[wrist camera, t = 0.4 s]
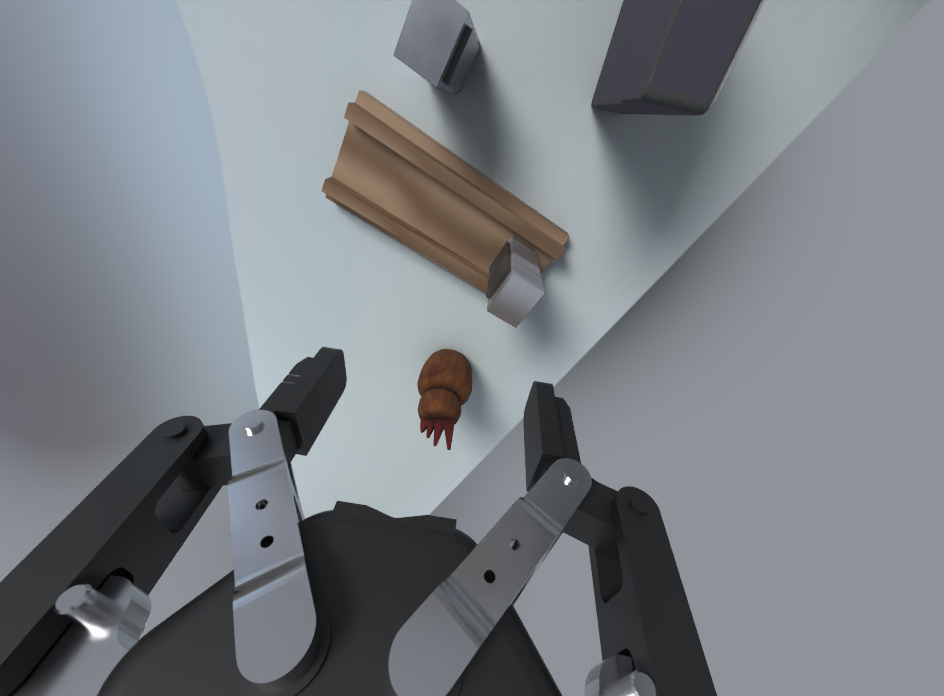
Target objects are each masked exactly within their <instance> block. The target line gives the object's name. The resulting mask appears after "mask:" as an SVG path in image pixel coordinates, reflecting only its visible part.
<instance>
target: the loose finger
mask: <svg viewBox="0 0 944 696" xmlns="http://www.w3.org/2000/svg"><path fill="white" fill-rule="evenodd" d="M478 43H479V39H478V36H477V33H476V31H475V28H474V25H473V22H472V19H471V17H470V14H469V11H467V10H466V9H465V8H464V7H463V6H461V5H460V4H459V3H458V2H457V1H455V0H412V3H411V6H410V9H409V11H408V14H407V17H406V20H405V23H404V26H403V29H402V32H401V35H400V37H399V40H398V43H397V46H396V49H395V52H394V56H395V57H396V58H398V59H399V60H400V61H402V62H403V63H404V64H406V65H407V66H408V67H410V68H411V69H412V70H414V71H415V72H416V73H418V74H419V75H420V76H422V77H423V78H424V79H426V80H427V81H428V82H430V83H431V84H432V85H434V86H435V87H437V88H439V89H442V90H445V91H448V92H451V93H454V94H455V93H456V91H457V90H458V91H460V89H461V87H462V85H463V83H464V81H465V78H466V76H467V74H468V72H469V70H470V68H471V65H472V63H473V61H474V59H475V57H476V55H477V52H478V50H479V48H480V47H479V44H478Z"/></svg>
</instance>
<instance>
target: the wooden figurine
mask: <svg viewBox="0 0 944 696" xmlns="http://www.w3.org/2000/svg"><path fill="white" fill-rule="evenodd" d="M418 390H419V394H420V395H421V396H422V397H421V399H420V402H419V406H418V414H419V417H420V419H421V424H420V429H421V433H423V432H424V431H425V430H426V429H427V434H426V436H427V438H429V437H430V435H431V434H432V432H433V430H434V446H436V445H437V443H438V441H439V439H440V436H441V434H442V432H443V430H444V429H445V436H446V443H447V449H448V450H450V449H451V443H452V436H453V430H454V425H455V424H456V423H457V421H458V419H459V417H460V415H461V406H462V405H463V404H464V403H465V402H467V400H468V398H469V396H470V393H471V391H472V369H471V366H470V364H469V362H468V361H467V359H466V357H465V356H464V355H462V354H461V353H459V352H457V351H455V350H450V349H442V350H439V351H437V352H435V353H433V354H432V355H431V356H430V357H429V359H428V360H427V361H426V363H425V364H424V366H423V368H422V370H421V373H420V376H419V379H418Z"/></svg>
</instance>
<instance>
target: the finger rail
mask: <svg viewBox="0 0 944 696" xmlns="http://www.w3.org/2000/svg"><path fill="white" fill-rule="evenodd" d="M344 118H346V119H347V120H349V124H348V127H347V130H346V133H345V137H344V140H343V143H342V146H341V149H340V153H339V156H338V159H337V162H336V165H335V168H334V172H333V175H332V177H330V178H327V179H325V181H324V185H323V188H322V192H324V193H326V198H328V199H329V200H331V201H333V202H334V203H336V204H338V205H339V206H341V207H343V208H344V209H346V210H348V211H349V212H351V213H353V214H354V215H356V216H358V217H359V218H361V219H363V220H364V221H366V222H368V223H369V224H371V225H373V226H374V227H376V228H378V229H379V230H381V231H383V232H384V233H386V234H388V235H389V236H391V237H393V238H394V239H396V240H398V241H399V242H401V243H403V244H404V245H406V246H408V247H409V248H411V249H413V250H414V251H416V252H418V253H419V254H421V255H423V256H424V257H426V258H428V259H429V260H431V261H433V262H434V263H436V264H438V265H440V266H441V267H443V268H445V269H446V270H448V271H450V272H451V273H453V274H455V275H456V276H458V277H460V278H461V279H463V280H465V281H466V282H468V283H470V284H471V285H473V286H475V287H476V288H478V289H480V290H481V291H483V292H485V293H486V294H487V298H488V306H487V311H488V312H490V313H491V314H493V315H495V316H496V317H498V318H500V319H502V320H503V321H505V322H507V323H508V324H510V325H512V326H514V327H515V328H516V327H517V326H518V325H519V324H520V322H521V321H522V320H523V319H524V318H525V316H526V315H527V314H528V313H529V312H530V310H531V309H532V308H533V307H534V306H535V304H536V303H537V302H538V301H539V300H540V298H541V297H542V296H543V295H544V294H545V291H544V287H543V282H542V278H541V273H542V271H543V270H544V269H545V268H546V266H547V265H548V264H549V263H550V261H551V260H552V259H553V258H555V259H557V260H558V259H559V257H560V256H561V255H562V254H563V252H564V251H565V249H564V246H563V245H564V244H565V242H566V241H567V240H568V239H569V235H568V233H567V232H565V231H564V230H562V229H561V228H560V227H558V226H557V225H555V224H554V223H552V222H551V221H550V220H548V219H547V218H545V217H544V216H542V215H541V214H540V213H538V212H537V211H535V210H534V209H532V208H531V207H530V206H528V205H527V204H525V203H524V202H522V201H521V200H520V199H518V198H517V197H515V196H514V195H512V194H511V193H510V192H508V191H507V190H505V189H504V188H503V187H501V186H500V185H498V184H497V183H495V182H494V181H493V180H491V179H490V178H488V177H487V176H485V175H484V174H483V173H481V172H480V171H478V170H477V169H475V168H474V167H473V166H471V165H470V164H468V163H467V162H465V161H464V160H463V159H461V158H460V157H458V156H457V155H455V154H454V153H453V152H451V151H450V150H448V149H447V148H445V147H444V146H443V145H441V144H440V143H438V142H437V141H435V140H434V139H433V138H431V137H430V136H428V135H427V134H425V133H424V132H423V131H421V130H420V129H418V128H417V127H415V126H414V125H413V124H411V123H410V122H408V121H407V120H405V119H404V118H403V117H401V116H400V115H398V114H397V113H395V112H394V111H393V110H391V109H390V108H388V107H387V106H385V105H384V104H383V103H381V102H380V101H378V100H377V99H375V98H374V97H373V96H371V95H370V94H368V93H367V92H365V91H360V90H359V92H358V95H357V99H356V102H355V103H350V102H349V103H348V106H347V109H346V113H345V116H344Z"/></svg>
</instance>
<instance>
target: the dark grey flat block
mask: <svg viewBox="0 0 944 696" xmlns="http://www.w3.org/2000/svg"><path fill="white" fill-rule="evenodd" d="M764 2H765V0H624V1H623V4H622V7H621V10H620V14H619V17H618V20H617V23H616V26H615V30H614V33H613V36H612V39H611V42H610V45H609V49H608V52H607V55H606V58H605V61H604V65H603V68H602V71H601V74H600V77H599V80H598V84H597V87H596V90H595V93H594V96H593V100H592V104H591V105H592V107H594V108H599V109H603V110H607V111H612V112H616V113H621V114H660V115H702V114H704V113H705V112H706V111H707V110H708V108H709V107H710V106H711V105H713V104H714V102H715V101H716V99H717V97H718V95H719V94H720V91H721V89H722V87H723V85H724V83H725V81H726V79H727V77H728V75H729V73H730V71H731V69H732V67H733V65H734V63H735V61H736V59H737V57H738V55H739V53H740V51H741V49H742V47H743V45H744V42H745V40H746V38H747V36H748V34H749V32H750V30H751V28H752V26H753V24H754V22H755V20H756V18H757V16H758V14H759V12H760V10H761V8H762V6H763V4H764Z"/></svg>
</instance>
